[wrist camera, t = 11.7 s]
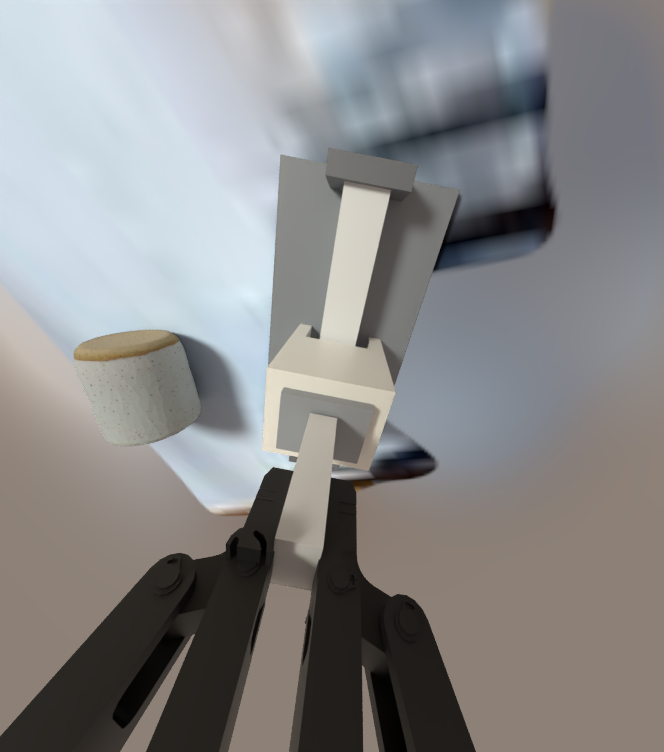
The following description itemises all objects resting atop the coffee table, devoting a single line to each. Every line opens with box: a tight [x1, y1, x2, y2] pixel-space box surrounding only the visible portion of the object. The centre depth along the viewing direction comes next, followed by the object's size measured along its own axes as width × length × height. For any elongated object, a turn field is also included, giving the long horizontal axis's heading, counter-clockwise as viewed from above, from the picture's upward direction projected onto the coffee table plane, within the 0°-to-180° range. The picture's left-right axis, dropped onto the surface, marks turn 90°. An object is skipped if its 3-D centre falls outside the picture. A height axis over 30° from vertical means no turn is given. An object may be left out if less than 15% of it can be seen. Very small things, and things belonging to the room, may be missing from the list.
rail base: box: [268, 148, 460, 470], centre depth 20 cm, size 24×12×4 cm, turn 170°
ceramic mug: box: [74, 330, 202, 446], centre depth 21 cm, size 11×8×8 cm
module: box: [262, 324, 396, 471], centre depth 18 cm, size 6×7×10 cm
